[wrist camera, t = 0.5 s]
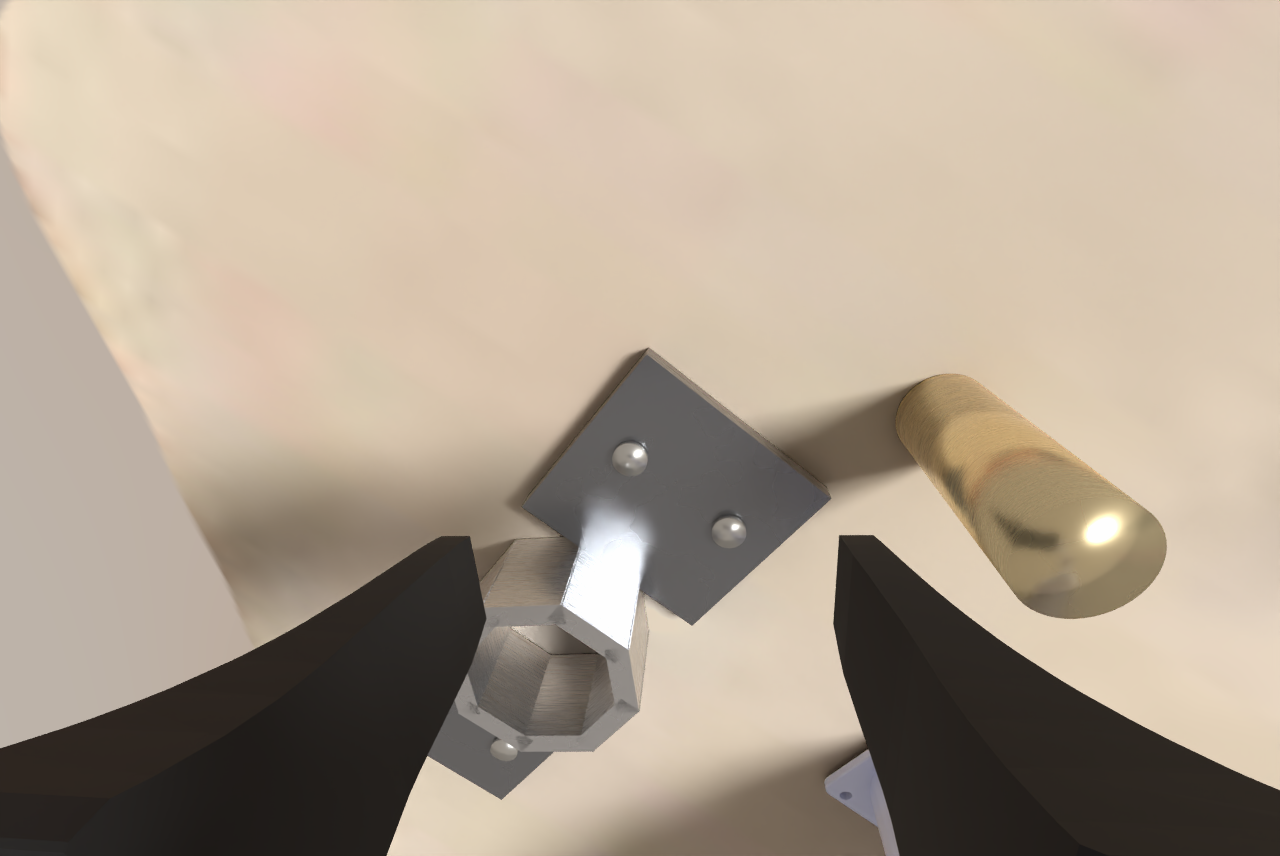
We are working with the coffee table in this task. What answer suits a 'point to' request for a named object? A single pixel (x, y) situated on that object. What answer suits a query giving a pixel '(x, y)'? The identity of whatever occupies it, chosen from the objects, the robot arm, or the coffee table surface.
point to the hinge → (617, 568)
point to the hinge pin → (1030, 501)
